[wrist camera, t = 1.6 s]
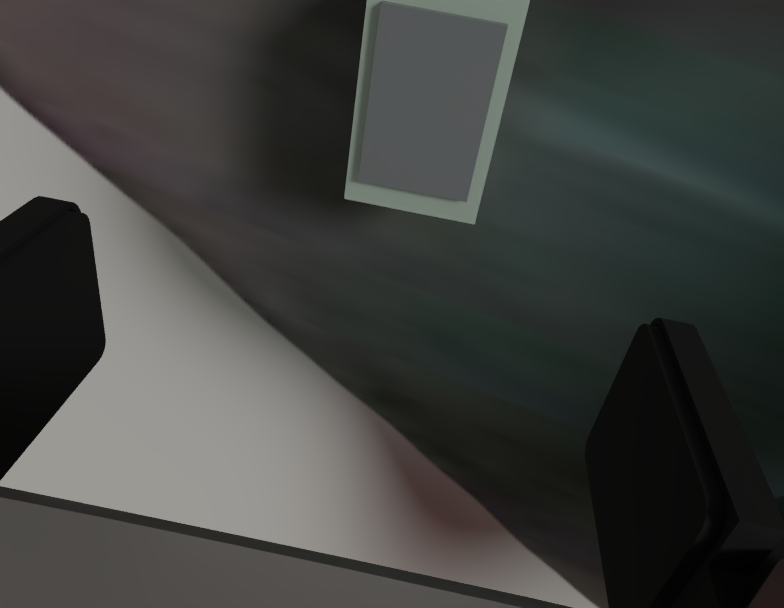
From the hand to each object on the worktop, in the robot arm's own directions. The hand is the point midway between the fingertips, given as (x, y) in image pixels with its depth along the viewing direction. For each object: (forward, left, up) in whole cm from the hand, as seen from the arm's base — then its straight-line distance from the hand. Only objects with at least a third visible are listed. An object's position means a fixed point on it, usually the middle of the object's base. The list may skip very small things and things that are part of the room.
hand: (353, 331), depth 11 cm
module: (0, 0, -20) cm, 20 cm away
